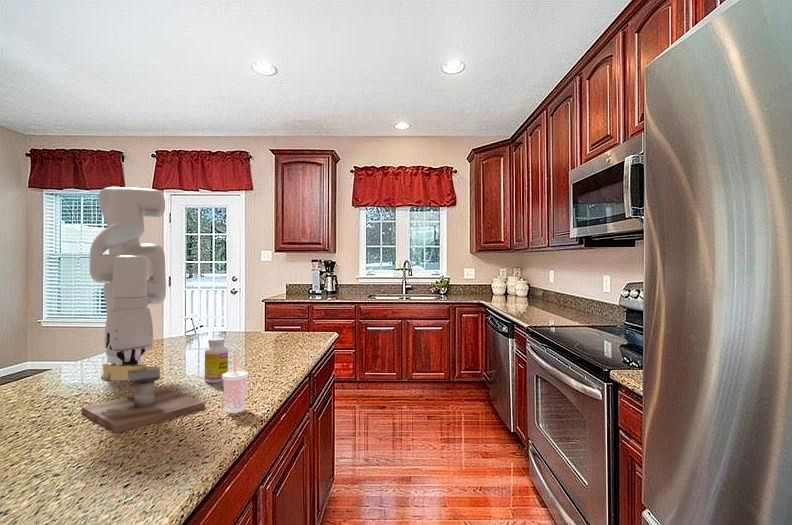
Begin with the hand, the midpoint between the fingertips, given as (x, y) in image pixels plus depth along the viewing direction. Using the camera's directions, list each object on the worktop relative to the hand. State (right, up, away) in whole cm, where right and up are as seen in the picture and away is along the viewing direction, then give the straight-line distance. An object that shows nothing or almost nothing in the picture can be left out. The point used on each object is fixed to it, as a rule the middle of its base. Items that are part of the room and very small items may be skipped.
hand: (130, 376), depth 113 cm
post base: (+6, -8, -3) cm, 10 cm away
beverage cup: (+28, -8, -2) cm, 29 cm away
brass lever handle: (+2, 0, -3) cm, 4 cm away
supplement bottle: (+12, -8, +24) cm, 28 cm away
